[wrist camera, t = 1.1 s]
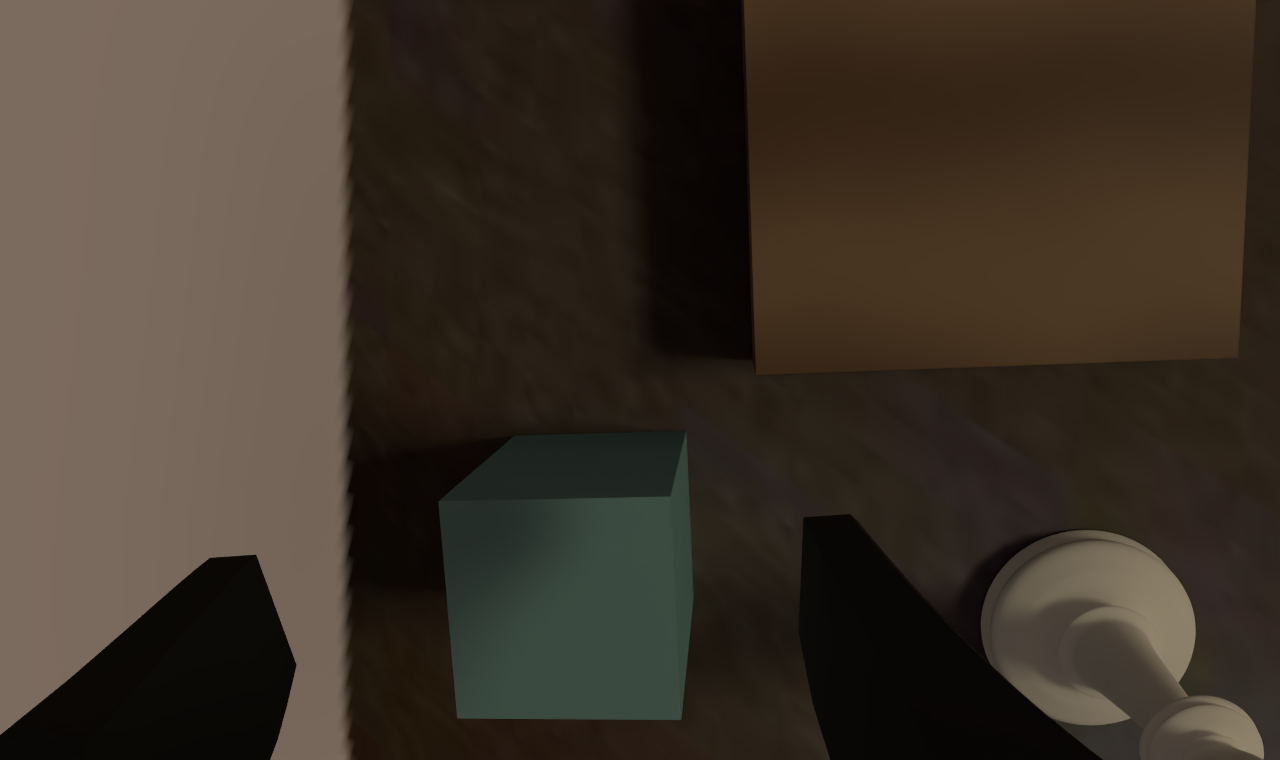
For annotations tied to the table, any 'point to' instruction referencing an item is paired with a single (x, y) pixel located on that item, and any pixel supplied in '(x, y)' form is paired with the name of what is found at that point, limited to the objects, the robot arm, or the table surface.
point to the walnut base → (995, 181)
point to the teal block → (571, 578)
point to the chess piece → (1108, 645)
